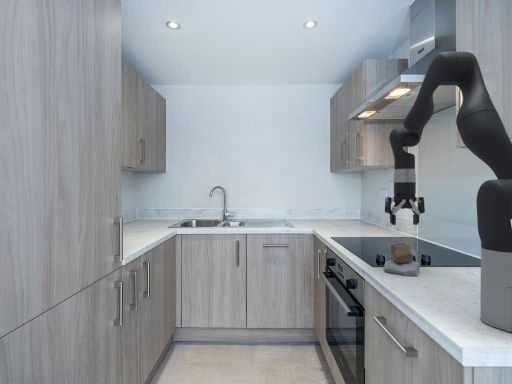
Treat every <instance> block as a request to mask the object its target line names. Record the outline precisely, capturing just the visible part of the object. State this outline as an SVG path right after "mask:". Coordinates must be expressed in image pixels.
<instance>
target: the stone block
mask: <svg viewBox="0 0 512 384" xmlns="http://www.w3.org/2000/svg"><path fill="white" fill-rule="evenodd" d="M420 266H421V265H420V263H419V262H418V261H415V260H411V262H405V263H397V262H394V261H392V259H389V260H387V261H385V263H384V265H383V271H384V272H385V273H388V274H395V275H399V276H405V277H418V276H419V275H420Z"/></svg>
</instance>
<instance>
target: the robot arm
mask: <svg viewBox="0 0 512 384" xmlns="http://www.w3.org/2000/svg"><path fill="white" fill-rule="evenodd" d="M483 77H484V76H483V74H482V70H481V67H480V63H479V62H478V59H477V57H476V56H475V55H474V54H473V53H472V52H470V51H452V50H451V51H442V52H439V53H437V54H436V55H435V56H434V57H433V59H432V60H431V62H430V64H429V66H428V68H427V71H426V73H425V75H424V78H423V81H422V83H421V86H420V88H419V91H418V94H417V95H416V98H415V100H414V103H413V104H412V107H411V108H410V109H409V111H408V113H407V115H406V116H405V118H404V120H403V127H394V128H393V129H392V130H391V132H390V133H389V138H388V139H389V140H388V141H389V144H390V147H391V150H392V154H393V159H394V162H393V163H394V165H393V166H394V172H393V197H391V196H386V197H385V202H384V213H386V214H388V215H389V223H390V225H392V226H396V225H397V215H396V214H397V213H398V212H399V211H400V209H406V210H407V209H409V210H410V211H411V212H412V213H413V214H412V225H415V226H418V225H419V223H420V214H421V215H422V214H425V212H426V211H425V210H426V209H425V197H423V196H417V197H416V192H417V188H416V187H417V175H416V156H415V154H413V153H412V152H411V153H410V152H407V151H405V150H404V148H412V147H413V148H414V147H416V146H418V145H419V144H420V142H421V138H422V134H423V131H424V128H425V127H426V125H427V124H428V122H429V121H430V120H431V118H432V117H433V114H434V110H435V102H434V93H435V92H436V90H437V89H438V87H440V86H445V87H446V86H449V87H450V86H456V87H458V88H459V90H460V91H461V94H462V103H461V105H460V107H459V109H458V112H457V114H456V120H455V125H456V128H457V130H458V133H459V136H460V138H461V140H462V142H463V144H464V146H465V147H466V149H468V150H469V151H470V152H471V153H472V154H473V155H475V156H476V157H477V158H478V159H480V160H481V162H483V164H485V165H487V166H488V168H490V169H491V171H492V173H493V174H494V175H495V176H496V178H497V179H488V180H485V181H484V182H482V183H481V185H480V186H479V188H478V190H477V194H476V219H477V221H476V222H477V232H478V233H477V234H478V236H479V239H480V294H479V296H480V299H479V300H480V303H479V304H480V306H479V307H480V315H479V316H480V320H481V322H483V323H484V324H486V325H489V326H490V327H493V328H497V329H499V330H504V331H506V332H508V333H512V140H511V139H510V137H509V134H508V132H507V129H506V127H505V126H504V123H503V121H502V119H501V117H500V115H499V112H498V111H497V109H496V107H495V104H494V102H493V101H492V98H491V96H490V94H489V92H488V90H487V87H486V84H485V81H484V78H483ZM392 203H394V205H392ZM415 203H417V205H416V204H415Z"/></svg>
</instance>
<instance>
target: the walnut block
mask: <svg viewBox="0 0 512 384" xmlns="http://www.w3.org/2000/svg"><path fill="white" fill-rule="evenodd" d="M389 245H390V247H389V248H390V257H391V259H390V260H392V261H394V262H397V263H405V262H411V261H412V254H411V253H412V252H411V245H410V244H407V243H404V242H403V243H402V242H401V243H394V244H389Z"/></svg>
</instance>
